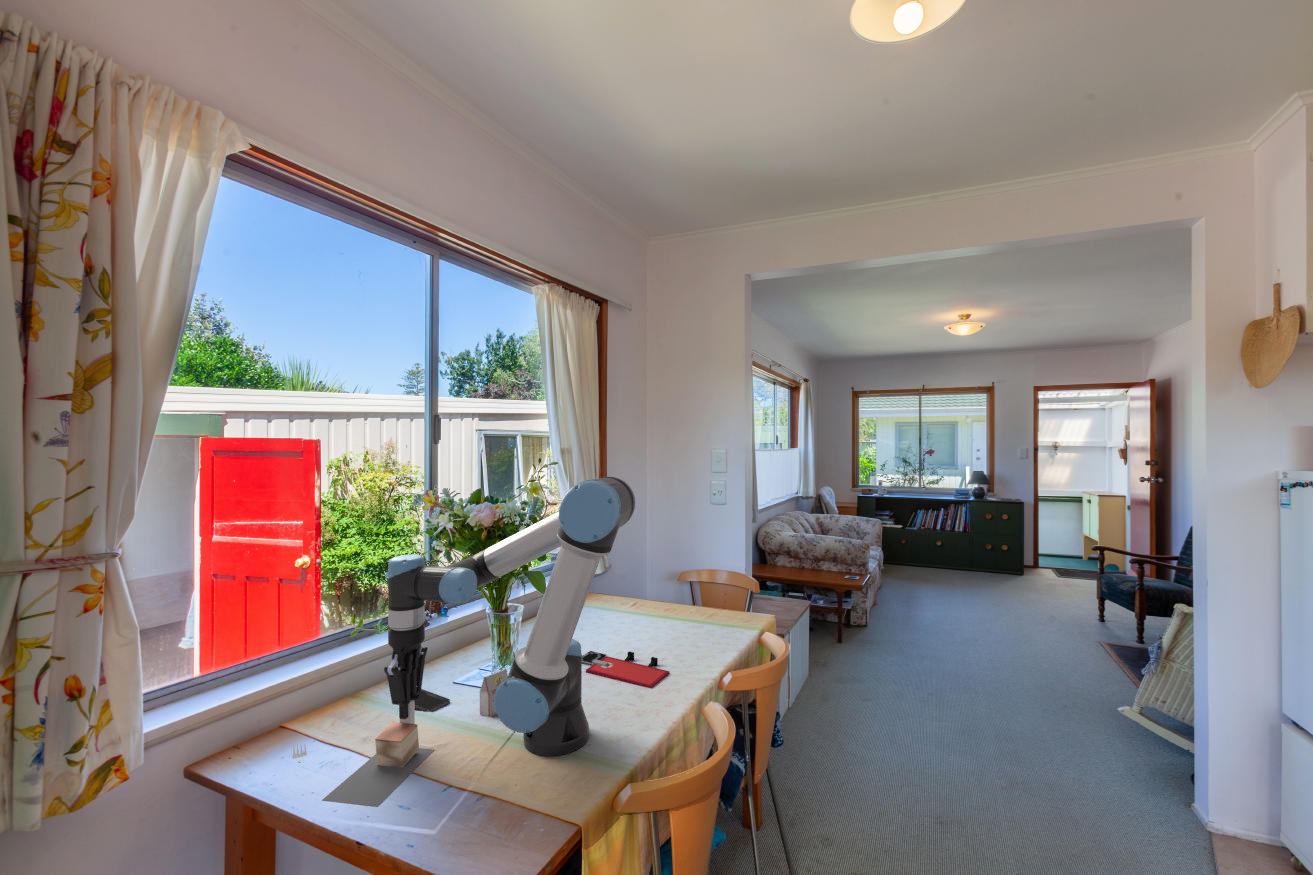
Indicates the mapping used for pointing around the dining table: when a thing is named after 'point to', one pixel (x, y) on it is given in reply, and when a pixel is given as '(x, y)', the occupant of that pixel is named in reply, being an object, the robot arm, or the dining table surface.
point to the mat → (374, 781)
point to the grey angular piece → (490, 692)
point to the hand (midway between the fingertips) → (407, 729)
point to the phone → (430, 701)
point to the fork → (298, 753)
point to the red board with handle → (624, 669)
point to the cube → (397, 744)
